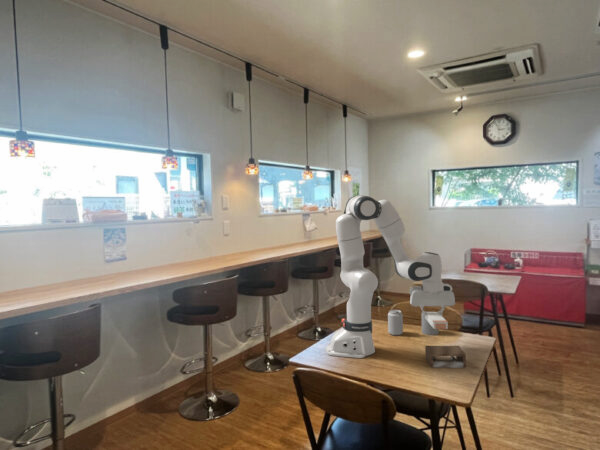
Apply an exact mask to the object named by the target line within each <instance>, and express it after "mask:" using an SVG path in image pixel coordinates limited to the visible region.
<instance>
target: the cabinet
mask: <svg viewBox="0 0 600 450" xmlns="http://www.w3.org/2000/svg"><path fill="white" fill-rule="evenodd" d="M424 347H425V349H424V350H425V351H424V352H425V354H424V355H425V360H426V361H427V363H428V365H429V366H430V368H449V369H450V368H452V369H453V368H455V369H456V368H458V369H460V368H461V369H462V368H463V369H464V368H467V367H466V366H467V365H466V364H467V360H466V357H467V354H466V352H464V350H463V349H462V348H461V346H459V345H425V346H424ZM436 357H450V360H451V361H449V360H439V361H438V359H437V358H436Z"/></svg>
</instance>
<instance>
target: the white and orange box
mask: <svg viewBox="0 0 600 450" xmlns="http://www.w3.org/2000/svg"><path fill="white" fill-rule="evenodd" d="M425 319H426V320H427V321H428V322H429V324H430V325H431V326H432V327H433V329H439V330H448V329H449V327H448V326H449V325H448V324H449V322H448V320H446V319H445V317H443V315H440V314H439V312H438V311H426V315H425Z"/></svg>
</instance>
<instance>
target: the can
mask: <svg viewBox="0 0 600 450" xmlns="http://www.w3.org/2000/svg"><path fill="white" fill-rule="evenodd" d="M403 319H404V314H403V313H402V311H401V310H400V309H391V310H388V313H387V331H388V334H389V335H391V336H394V337H395V336H401V335H402V334H403V333H404V320H403Z"/></svg>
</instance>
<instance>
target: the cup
mask: <svg viewBox="0 0 600 450" xmlns="http://www.w3.org/2000/svg"><path fill="white" fill-rule="evenodd" d="M420 316H421V333H422V334H423V335H426V336H438V335H439V332H440V331H439V330H440V329H433V327H432V326H431V325H430V324H429V322H428V321H427V320H426V319H425V315H423V314H422V312H421V315H420Z"/></svg>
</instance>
